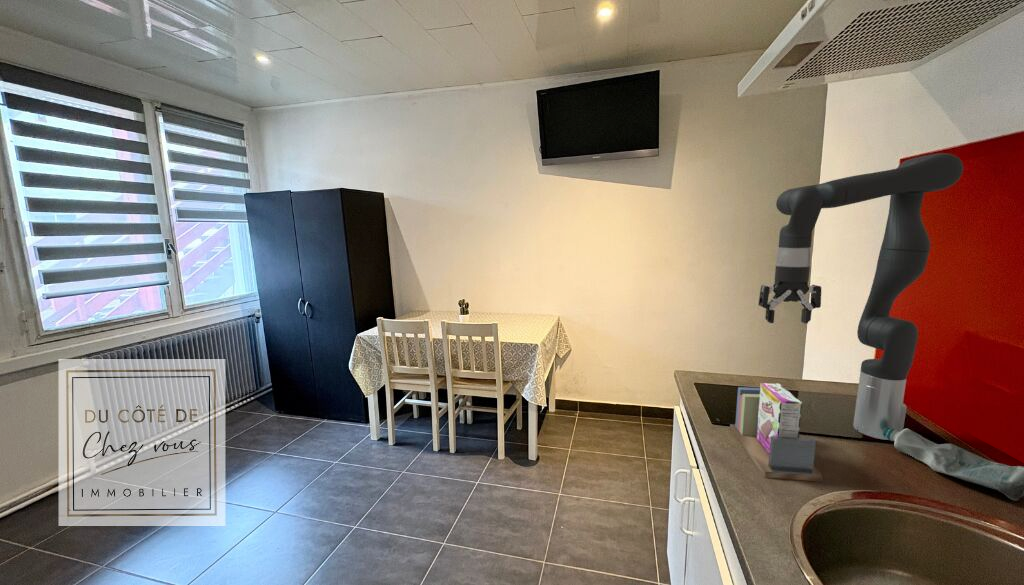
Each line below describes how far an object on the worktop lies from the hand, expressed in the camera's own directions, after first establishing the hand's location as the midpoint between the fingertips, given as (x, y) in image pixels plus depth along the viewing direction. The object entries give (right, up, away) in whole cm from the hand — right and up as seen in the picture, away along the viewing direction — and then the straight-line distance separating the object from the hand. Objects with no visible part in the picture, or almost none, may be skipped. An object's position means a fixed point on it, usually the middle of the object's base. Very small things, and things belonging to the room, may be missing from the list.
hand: (787, 322), depth 106 cm
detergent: (+29, -35, -14) cm, 47 cm away
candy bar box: (-8, -33, -7) cm, 35 cm away
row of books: (-7, -31, +2) cm, 32 cm away
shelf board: (-8, -34, -5) cm, 35 cm away
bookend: (-10, -34, -15) cm, 38 cm away
